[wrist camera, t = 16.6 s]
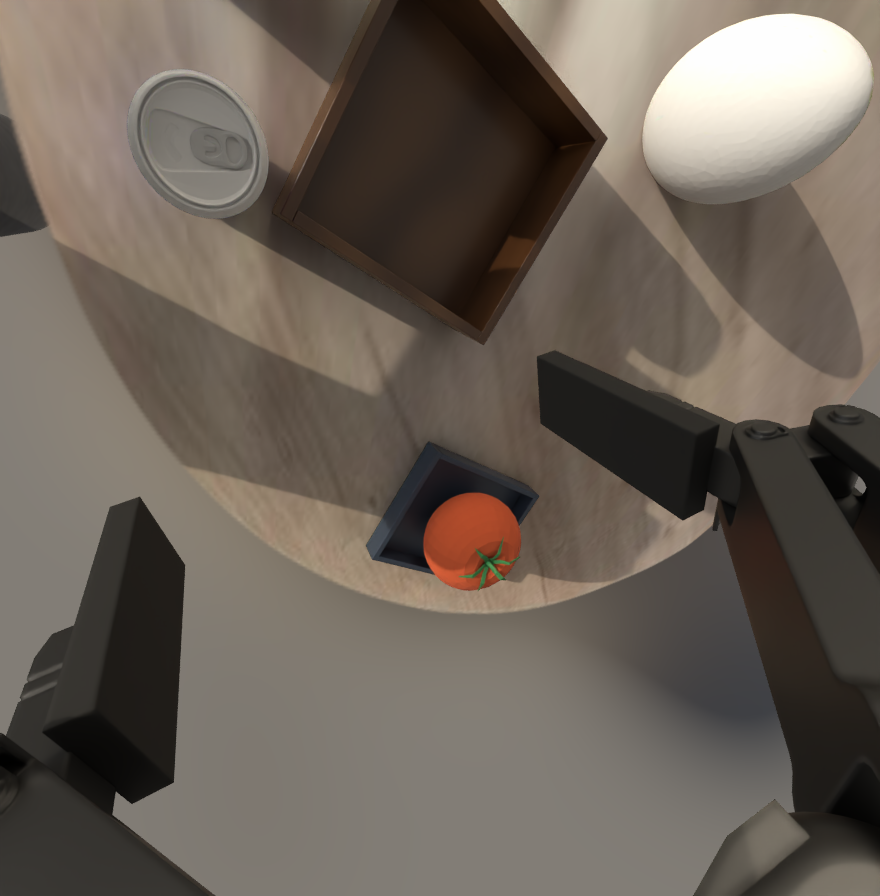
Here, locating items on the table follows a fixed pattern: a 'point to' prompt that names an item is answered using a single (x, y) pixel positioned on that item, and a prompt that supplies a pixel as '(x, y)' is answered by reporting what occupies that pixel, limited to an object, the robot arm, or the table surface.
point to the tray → (438, 503)
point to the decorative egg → (756, 108)
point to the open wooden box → (441, 157)
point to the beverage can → (197, 143)
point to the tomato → (472, 541)
